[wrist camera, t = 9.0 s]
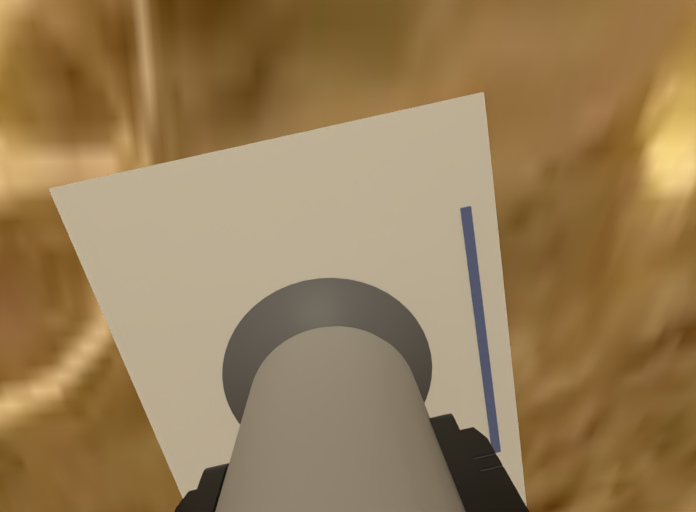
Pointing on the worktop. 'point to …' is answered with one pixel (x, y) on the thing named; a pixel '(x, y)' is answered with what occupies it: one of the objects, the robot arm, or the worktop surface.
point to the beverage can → (337, 433)
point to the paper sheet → (304, 270)
